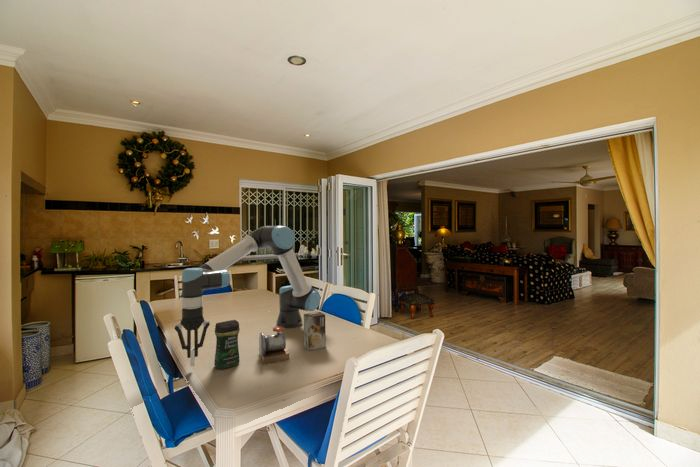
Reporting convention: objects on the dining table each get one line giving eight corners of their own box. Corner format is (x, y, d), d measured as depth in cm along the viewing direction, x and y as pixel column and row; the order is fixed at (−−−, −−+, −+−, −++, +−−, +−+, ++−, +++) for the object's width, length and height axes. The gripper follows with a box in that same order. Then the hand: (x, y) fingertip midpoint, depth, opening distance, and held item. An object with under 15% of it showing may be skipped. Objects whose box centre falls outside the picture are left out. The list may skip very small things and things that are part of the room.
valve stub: (283, 350, 150) (283, 323, 149) (289, 360, 139) (289, 330, 138) (258, 354, 145) (258, 326, 145) (263, 364, 134) (263, 334, 134)
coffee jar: (219, 371, 127) (218, 325, 127) (212, 365, 133) (211, 321, 133) (242, 364, 134) (242, 321, 134) (234, 359, 140) (234, 317, 139)
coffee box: (320, 343, 159) (320, 311, 159) (325, 347, 153) (326, 314, 153) (303, 346, 155) (303, 313, 155) (308, 350, 149) (308, 316, 149)
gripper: (209, 303, 134) (210, 358, 134) (174, 306, 128) (174, 364, 129) (210, 307, 127) (210, 365, 127) (173, 310, 121) (173, 371, 122)
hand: (192, 364), depth 128 cm, fingers closed
